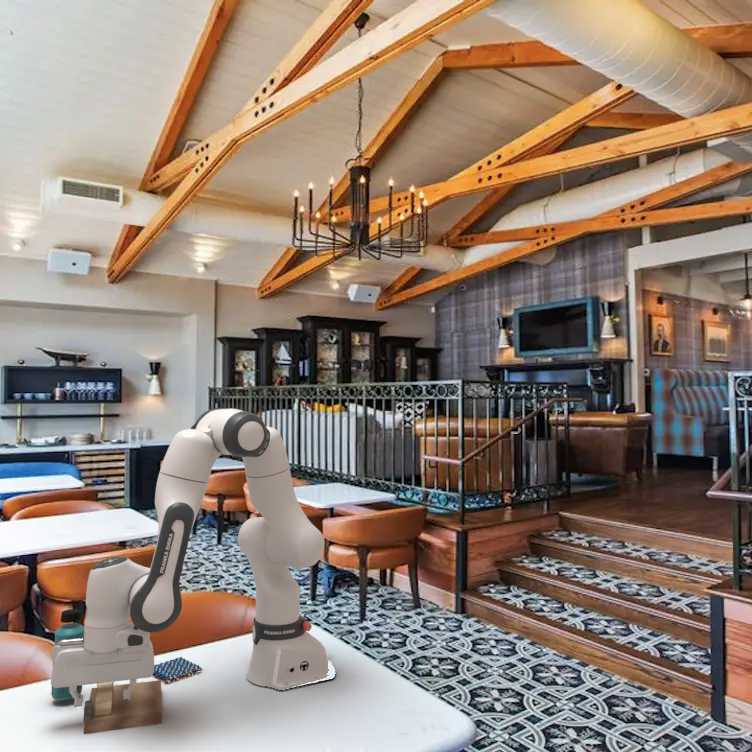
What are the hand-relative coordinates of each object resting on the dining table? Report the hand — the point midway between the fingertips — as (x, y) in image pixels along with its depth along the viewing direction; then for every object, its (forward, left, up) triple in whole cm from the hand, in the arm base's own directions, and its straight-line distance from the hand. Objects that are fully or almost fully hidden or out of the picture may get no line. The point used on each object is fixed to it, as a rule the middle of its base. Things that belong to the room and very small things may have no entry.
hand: (102, 702), depth 130 cm
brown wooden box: (-4, -3, -4) cm, 7 cm away
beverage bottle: (+8, -12, -4) cm, 15 cm away
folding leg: (0, -3, -1) cm, 4 cm away
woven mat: (-15, -21, -5) cm, 27 cm away
